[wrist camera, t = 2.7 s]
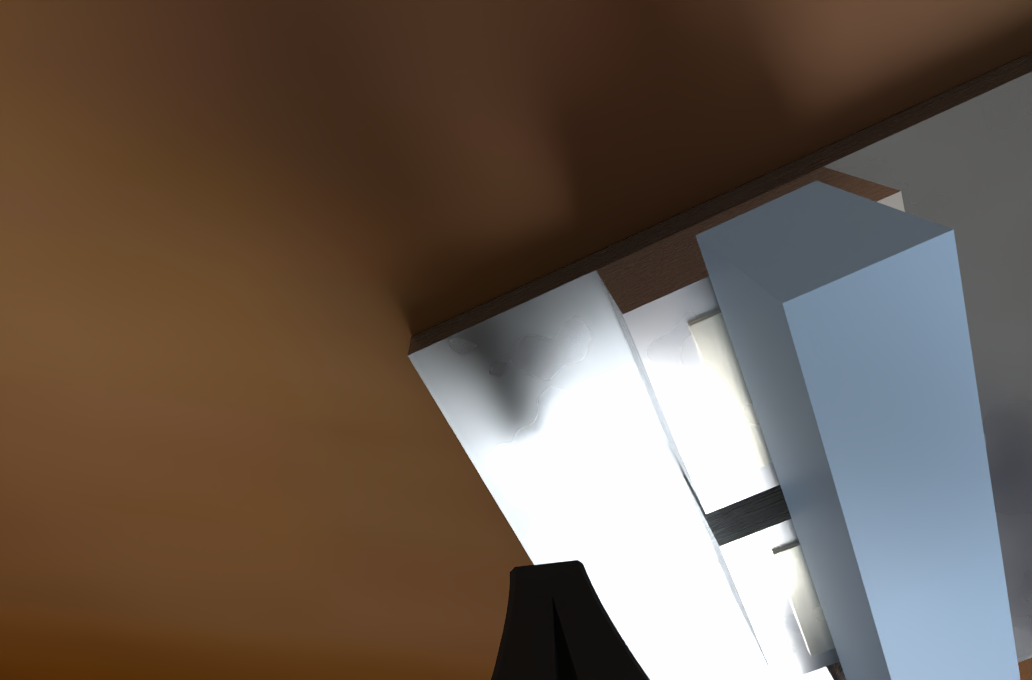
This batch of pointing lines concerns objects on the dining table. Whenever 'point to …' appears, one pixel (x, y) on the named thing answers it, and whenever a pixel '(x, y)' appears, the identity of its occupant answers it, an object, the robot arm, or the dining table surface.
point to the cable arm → (872, 426)
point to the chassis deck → (638, 431)
